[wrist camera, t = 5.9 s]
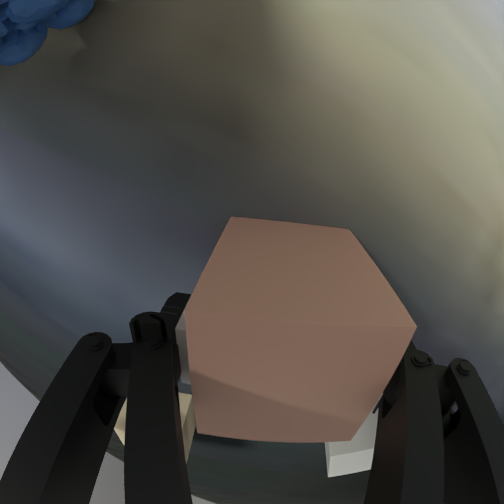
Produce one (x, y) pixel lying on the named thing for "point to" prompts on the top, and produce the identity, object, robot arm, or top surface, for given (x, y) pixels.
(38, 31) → the grapes
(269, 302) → the terracotta block
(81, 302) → the top surface
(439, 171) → the top surface
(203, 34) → the top surface
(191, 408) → the maple block
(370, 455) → the off-white plastic block
